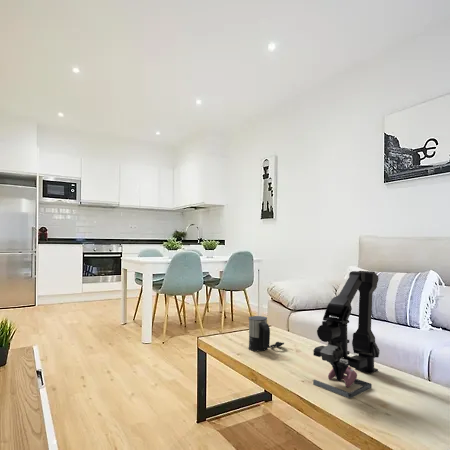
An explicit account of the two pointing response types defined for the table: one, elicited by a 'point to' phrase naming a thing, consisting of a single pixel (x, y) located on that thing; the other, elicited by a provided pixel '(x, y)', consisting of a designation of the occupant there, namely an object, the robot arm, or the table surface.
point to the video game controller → (348, 379)
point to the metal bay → (351, 394)
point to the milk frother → (260, 334)
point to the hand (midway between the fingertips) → (339, 380)
